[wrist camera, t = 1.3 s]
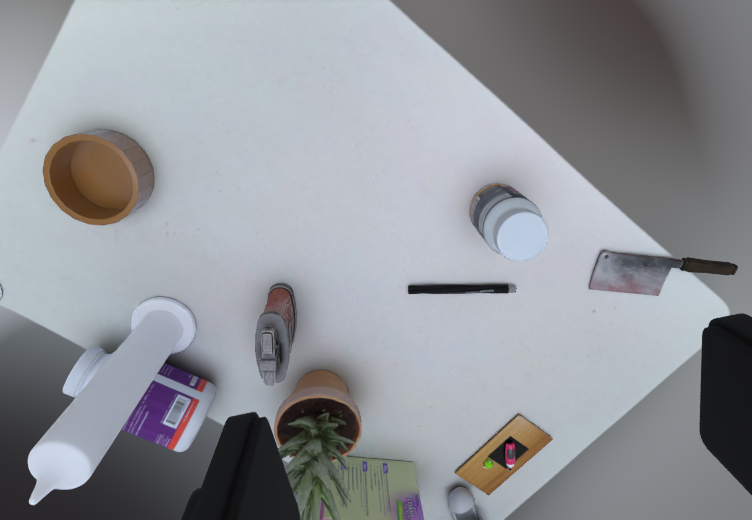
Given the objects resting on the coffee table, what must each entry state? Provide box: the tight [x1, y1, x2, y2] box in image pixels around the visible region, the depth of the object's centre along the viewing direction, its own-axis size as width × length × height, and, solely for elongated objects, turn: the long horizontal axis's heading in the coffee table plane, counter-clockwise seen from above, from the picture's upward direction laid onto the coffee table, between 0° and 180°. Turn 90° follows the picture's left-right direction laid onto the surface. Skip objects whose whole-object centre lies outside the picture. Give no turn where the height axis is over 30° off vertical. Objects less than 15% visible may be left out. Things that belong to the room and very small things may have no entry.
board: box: [455, 414, 553, 495], centre depth 64 cm, size 6×12×2 cm, turn 140°
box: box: [320, 456, 424, 520], centre depth 61 cm, size 10×6×12 cm
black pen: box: [408, 285, 517, 294], centre depth 56 cm, size 12×1×1 cm
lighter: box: [255, 283, 297, 386], centre depth 52 cm, size 8×3×10 cm, turn 178°
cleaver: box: [590, 251, 738, 296], centre depth 56 cm, size 16×1×5 cm
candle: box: [28, 297, 196, 505], centre depth 45 cm, size 7×7×25 cm
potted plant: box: [274, 370, 361, 520], centre depth 49 cm, size 10×10×25 cm
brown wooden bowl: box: [43, 129, 154, 225], centre depth 48 cm, size 9×9×4 cm
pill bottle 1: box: [63, 346, 216, 452], centre depth 55 cm, size 8×8×14 cm
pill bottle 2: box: [470, 184, 548, 261], centre depth 48 cm, size 6×6×10 cm
